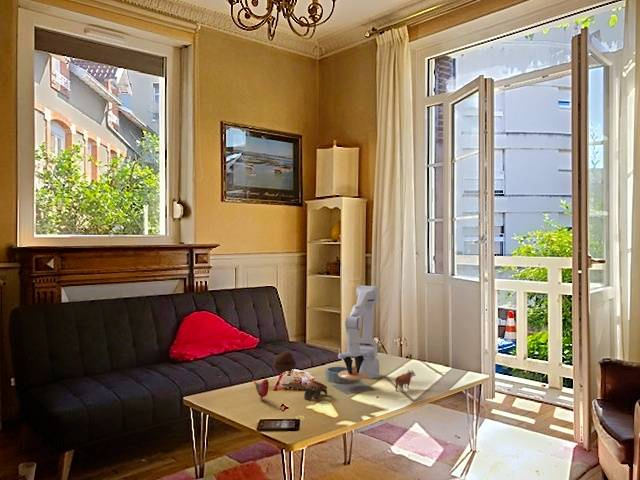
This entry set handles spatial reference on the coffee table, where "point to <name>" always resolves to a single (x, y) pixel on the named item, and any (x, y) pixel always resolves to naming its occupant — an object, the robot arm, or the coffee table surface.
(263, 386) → the decorative bird figurine
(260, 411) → the coffee table surface
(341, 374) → the lid
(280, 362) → the dark brown rounded lump
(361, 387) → the mat
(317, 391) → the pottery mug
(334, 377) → the bowl
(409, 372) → the bull figurine
